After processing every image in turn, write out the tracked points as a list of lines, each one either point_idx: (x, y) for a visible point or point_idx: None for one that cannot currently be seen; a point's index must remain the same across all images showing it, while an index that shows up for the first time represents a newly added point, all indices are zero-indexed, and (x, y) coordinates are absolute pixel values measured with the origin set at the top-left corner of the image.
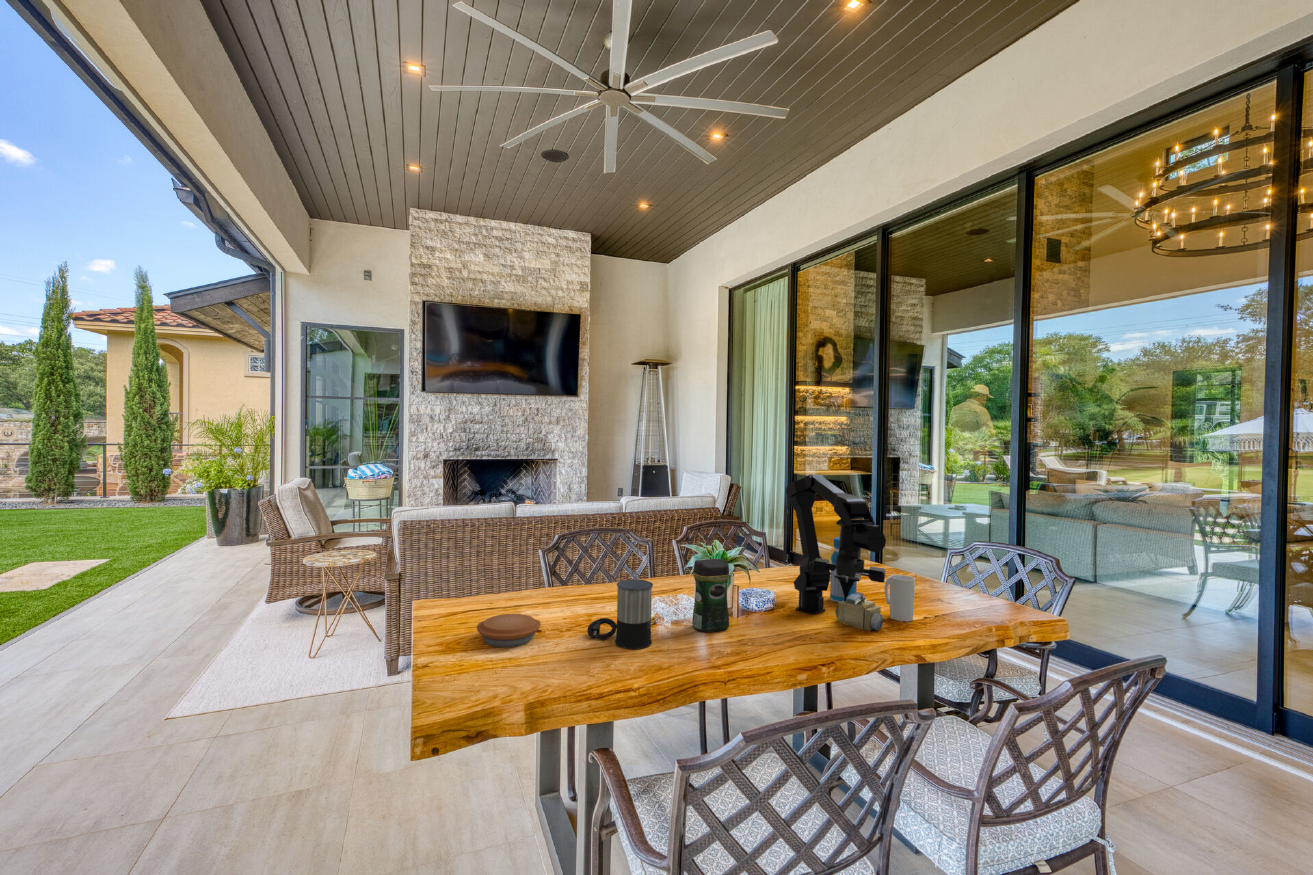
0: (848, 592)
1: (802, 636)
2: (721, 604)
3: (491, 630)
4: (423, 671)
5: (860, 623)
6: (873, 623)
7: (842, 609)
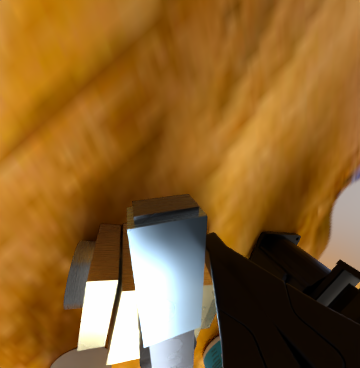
0: (218, 286)
1: (263, 11)
2: None
3: None
4: None
5: None
6: (84, 247)
7: None
